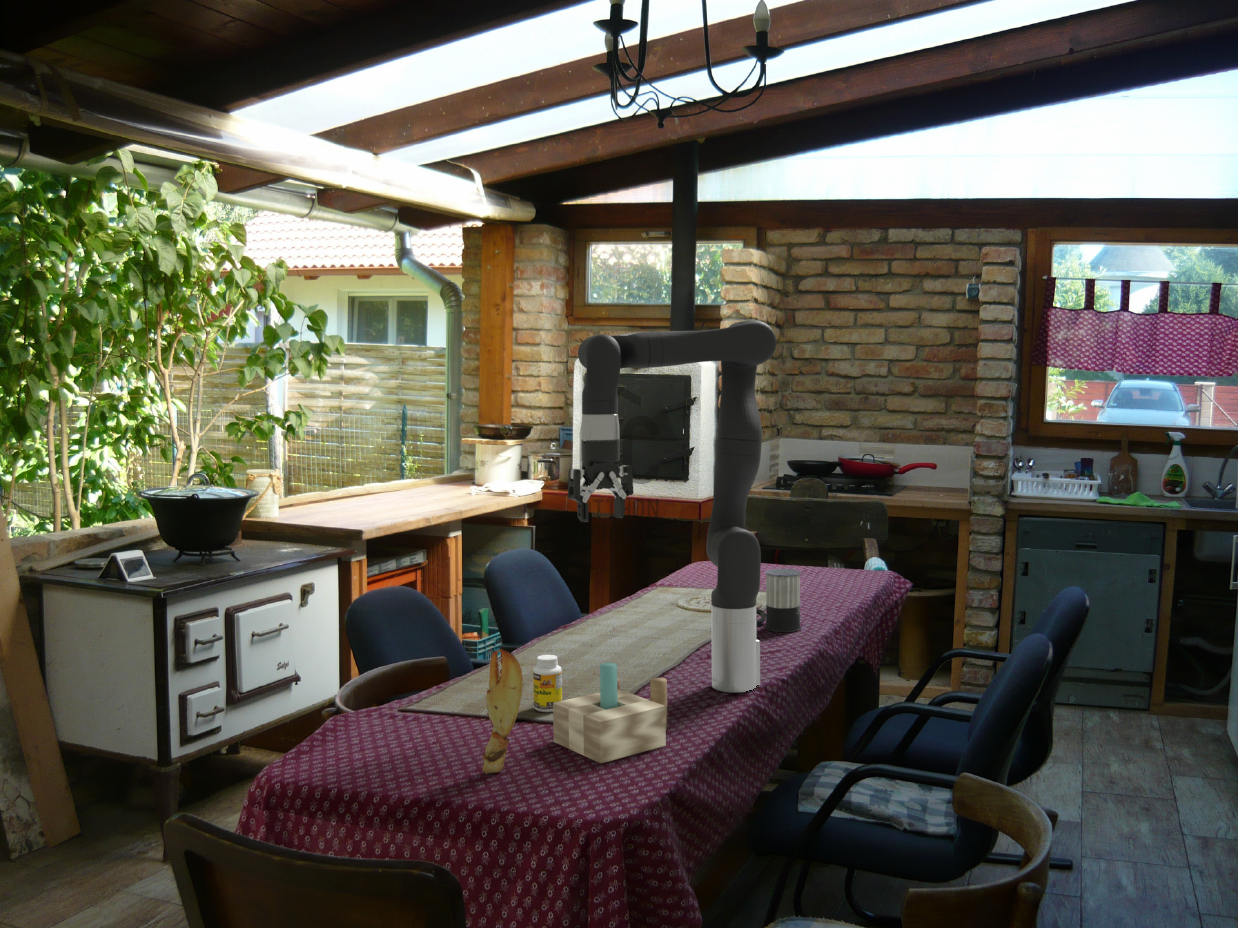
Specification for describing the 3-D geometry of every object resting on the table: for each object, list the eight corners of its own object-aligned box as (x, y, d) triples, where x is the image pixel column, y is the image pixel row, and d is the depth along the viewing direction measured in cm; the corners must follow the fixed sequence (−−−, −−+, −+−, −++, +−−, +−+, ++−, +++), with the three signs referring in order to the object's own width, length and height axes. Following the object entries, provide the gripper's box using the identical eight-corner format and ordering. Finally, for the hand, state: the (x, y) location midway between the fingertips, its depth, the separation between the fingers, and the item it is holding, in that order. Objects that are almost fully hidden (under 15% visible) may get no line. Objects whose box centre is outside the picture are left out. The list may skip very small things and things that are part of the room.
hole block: (617, 725, 197) (616, 688, 197) (665, 745, 186) (665, 705, 186) (553, 741, 189) (553, 702, 188) (600, 763, 178) (600, 721, 177)
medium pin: (660, 724, 198) (659, 676, 197) (670, 728, 195) (670, 680, 195) (647, 728, 196) (646, 679, 195) (657, 732, 194) (657, 683, 193)
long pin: (611, 739, 190) (610, 661, 189) (621, 743, 187) (620, 664, 186) (597, 743, 188) (596, 664, 187) (607, 747, 186) (606, 667, 185)
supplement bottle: (528, 710, 207) (527, 658, 207) (544, 703, 212) (543, 652, 212) (552, 714, 205) (551, 661, 204) (567, 706, 210) (567, 655, 209)
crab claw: (527, 771, 175) (525, 650, 173) (507, 781, 170) (505, 656, 169) (494, 763, 178) (492, 644, 177) (473, 772, 174) (471, 651, 173)
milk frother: (803, 633, 269) (803, 574, 268) (740, 633, 270) (740, 575, 269) (796, 620, 284) (796, 565, 283) (736, 621, 284) (735, 565, 283)
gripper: (617, 435, 218) (618, 515, 219) (559, 438, 209) (560, 521, 210) (640, 436, 212) (641, 518, 213) (581, 439, 203) (582, 524, 204)
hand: (601, 519), depth 212 cm, fingers open, 8 cm apart
